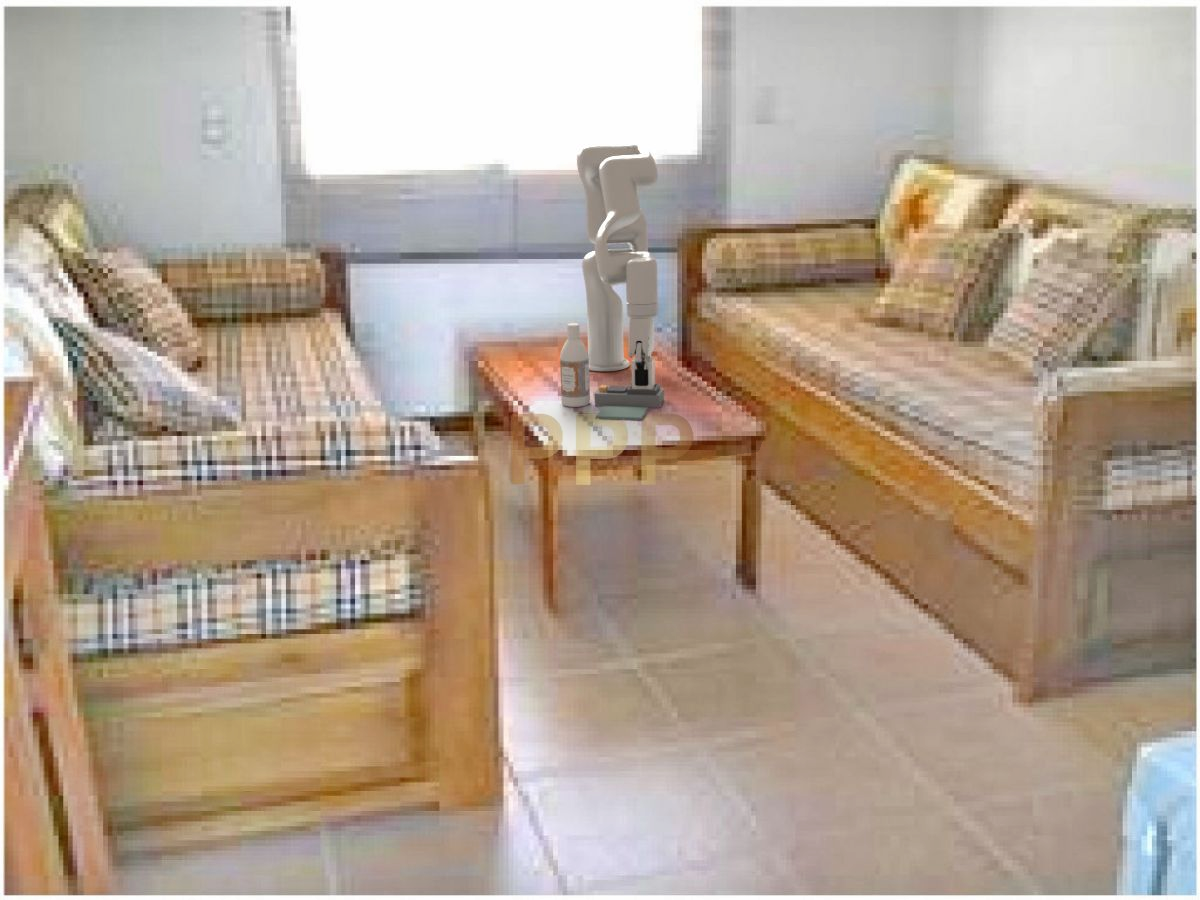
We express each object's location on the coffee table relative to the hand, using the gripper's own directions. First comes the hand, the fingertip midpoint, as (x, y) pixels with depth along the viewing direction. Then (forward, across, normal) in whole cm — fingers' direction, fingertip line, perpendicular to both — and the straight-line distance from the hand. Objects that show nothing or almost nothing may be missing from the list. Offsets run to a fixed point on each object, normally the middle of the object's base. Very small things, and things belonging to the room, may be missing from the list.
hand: (643, 382), depth 337 cm
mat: (+5, +10, -4) cm, 12 cm away
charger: (+2, 0, 0) cm, 2 cm away
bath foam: (+5, +2, -16) cm, 18 cm away
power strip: (+5, 0, -4) cm, 6 cm away
